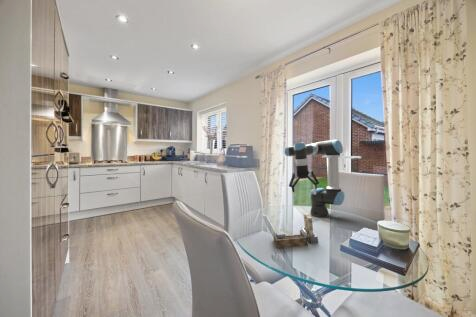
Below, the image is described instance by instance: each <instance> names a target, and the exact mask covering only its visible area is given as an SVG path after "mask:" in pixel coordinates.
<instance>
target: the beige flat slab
mask: <svg viewBox="0 0 476 317" xmlns="http://www.w3.org/2000/svg"><path fill="white" fill-rule="evenodd" d="M303 223H304V227H305V231H306V232H307V233H308V235H309V236H314V235H313V232H314V227H313V218H312V217H311V215H310V214H309V213H307V212H304V213H303Z"/></svg>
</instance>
